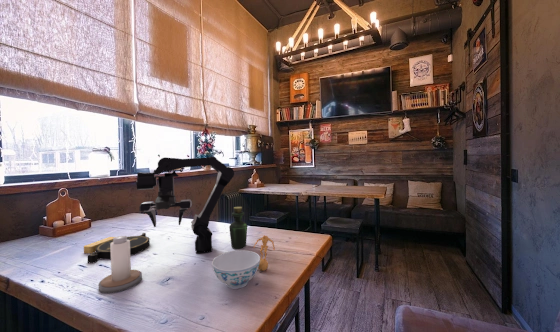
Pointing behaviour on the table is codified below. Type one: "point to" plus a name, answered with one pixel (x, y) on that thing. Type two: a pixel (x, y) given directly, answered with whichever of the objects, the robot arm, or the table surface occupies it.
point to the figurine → (263, 262)
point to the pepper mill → (120, 258)
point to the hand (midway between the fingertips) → (167, 225)
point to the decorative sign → (105, 252)
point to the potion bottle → (238, 230)
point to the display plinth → (119, 283)
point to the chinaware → (236, 267)
